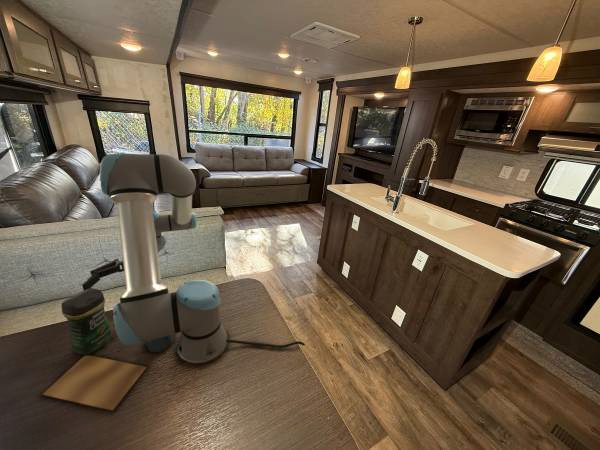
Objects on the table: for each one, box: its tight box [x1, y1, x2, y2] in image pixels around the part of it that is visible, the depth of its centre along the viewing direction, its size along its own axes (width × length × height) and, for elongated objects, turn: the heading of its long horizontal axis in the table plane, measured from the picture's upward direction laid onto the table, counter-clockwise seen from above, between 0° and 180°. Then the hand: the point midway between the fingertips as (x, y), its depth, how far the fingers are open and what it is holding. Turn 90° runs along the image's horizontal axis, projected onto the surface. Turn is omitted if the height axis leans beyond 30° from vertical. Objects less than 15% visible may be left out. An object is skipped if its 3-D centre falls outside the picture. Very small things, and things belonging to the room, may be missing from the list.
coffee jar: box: [60, 287, 113, 356], centre depth 75 cm, size 10×8×19 cm
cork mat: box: [42, 354, 148, 412], centre depth 68 cm, size 20×12×1 cm, turn 82°
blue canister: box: [145, 334, 174, 353], centre depth 79 cm, size 8×8×11 cm
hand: (105, 289), depth 82 cm, fingers open, 13 cm apart
